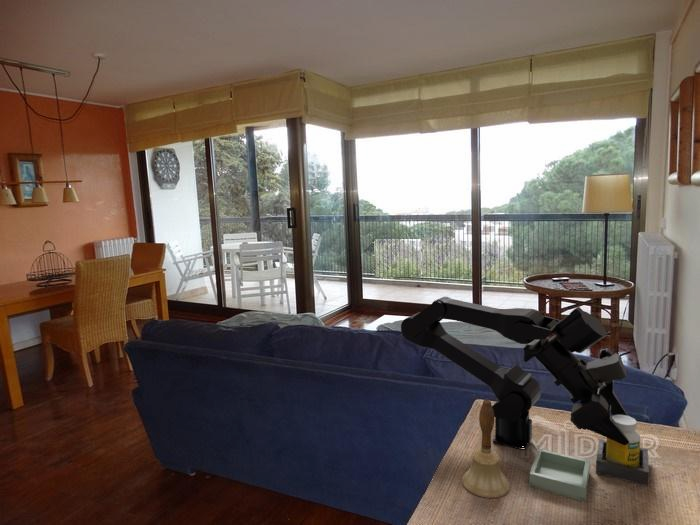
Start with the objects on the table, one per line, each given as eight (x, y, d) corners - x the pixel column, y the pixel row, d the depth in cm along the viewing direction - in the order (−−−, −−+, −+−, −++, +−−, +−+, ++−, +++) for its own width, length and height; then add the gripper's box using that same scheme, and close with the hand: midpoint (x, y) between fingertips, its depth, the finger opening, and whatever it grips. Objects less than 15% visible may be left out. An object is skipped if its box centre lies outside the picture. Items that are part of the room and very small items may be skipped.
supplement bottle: (614, 455, 91) (616, 409, 89) (644, 468, 86) (647, 420, 85) (599, 465, 88) (601, 418, 86) (629, 479, 83) (632, 429, 82)
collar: (595, 472, 86) (596, 460, 85) (598, 450, 92) (599, 439, 92) (648, 485, 81) (648, 472, 81) (646, 461, 88) (647, 449, 88)
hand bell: (510, 473, 87) (511, 392, 84) (509, 502, 79) (510, 414, 77) (464, 466, 90) (464, 388, 87) (459, 493, 82) (458, 408, 79)
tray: (529, 486, 83) (529, 473, 82) (538, 460, 90) (538, 448, 90) (585, 501, 78) (585, 488, 78) (589, 472, 86) (590, 460, 85)
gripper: (593, 357, 78) (670, 433, 74) (600, 326, 93) (663, 388, 90) (542, 393, 83) (611, 466, 79) (557, 358, 99) (615, 417, 95)
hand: (627, 431), depth 85 cm, fingers open, 9 cm apart
